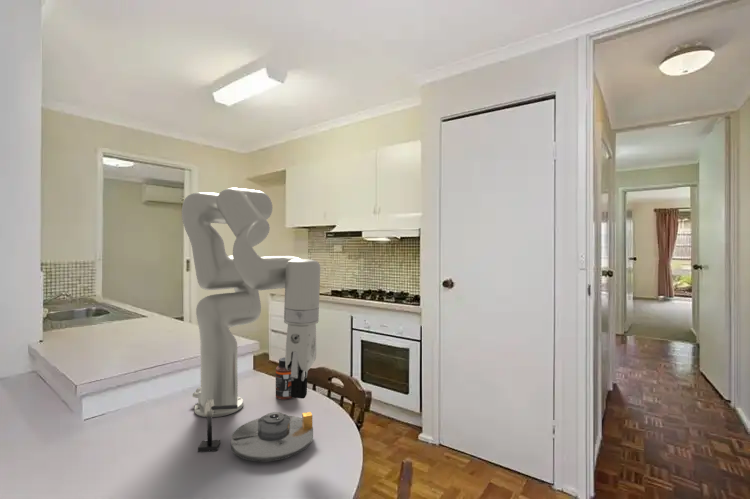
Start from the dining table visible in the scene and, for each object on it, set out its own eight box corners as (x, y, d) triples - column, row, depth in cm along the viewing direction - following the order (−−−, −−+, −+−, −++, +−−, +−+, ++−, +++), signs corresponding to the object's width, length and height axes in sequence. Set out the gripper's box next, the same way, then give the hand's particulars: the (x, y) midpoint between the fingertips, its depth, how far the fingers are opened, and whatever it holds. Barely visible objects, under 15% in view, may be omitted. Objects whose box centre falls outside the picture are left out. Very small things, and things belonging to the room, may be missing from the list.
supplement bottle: (291, 401, 113) (290, 362, 113) (271, 399, 114) (271, 361, 114) (299, 393, 119) (299, 356, 119) (280, 392, 120) (280, 355, 120)
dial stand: (197, 452, 85) (197, 403, 85) (202, 444, 89) (202, 397, 88) (235, 450, 86) (235, 402, 86) (239, 442, 90) (239, 395, 89)
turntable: (232, 468, 77) (232, 446, 77) (230, 428, 94) (230, 409, 94) (321, 451, 84) (321, 430, 84) (304, 416, 100) (304, 399, 100)
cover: (257, 442, 84) (257, 424, 84) (258, 427, 91) (258, 410, 91) (290, 438, 86) (290, 421, 86) (289, 424, 93) (289, 408, 93)
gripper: (310, 324, 78) (307, 413, 79) (324, 309, 93) (321, 384, 94) (274, 322, 79) (271, 410, 80) (293, 307, 94) (291, 382, 95)
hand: (298, 396), depth 87 cm, fingers closed
